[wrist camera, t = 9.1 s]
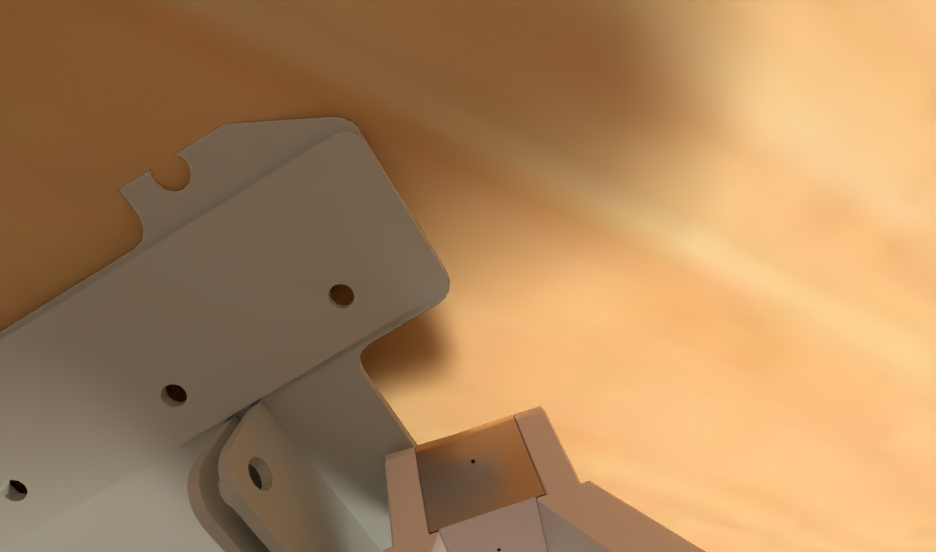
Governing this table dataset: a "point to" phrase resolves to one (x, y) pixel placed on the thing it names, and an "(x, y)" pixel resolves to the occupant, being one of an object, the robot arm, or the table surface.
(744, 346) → the table surface
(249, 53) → the table surface
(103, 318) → the metal bracket
